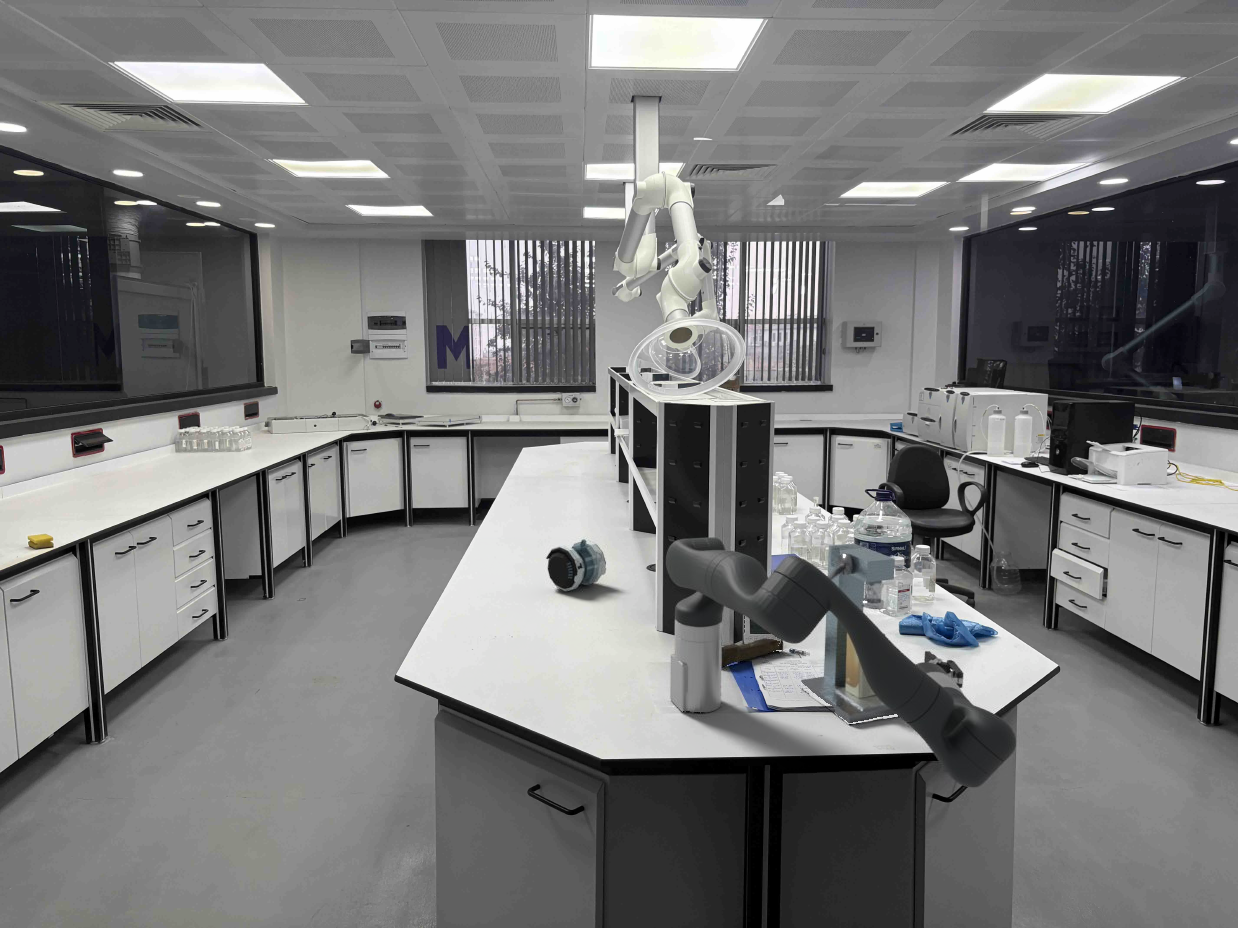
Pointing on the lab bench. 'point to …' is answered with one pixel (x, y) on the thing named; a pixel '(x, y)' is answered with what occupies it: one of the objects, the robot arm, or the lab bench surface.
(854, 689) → the skincare box
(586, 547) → the gadget
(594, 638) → the lab bench surface
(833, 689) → the arbor press
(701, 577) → the robot arm
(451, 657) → the lab bench surface
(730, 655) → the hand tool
